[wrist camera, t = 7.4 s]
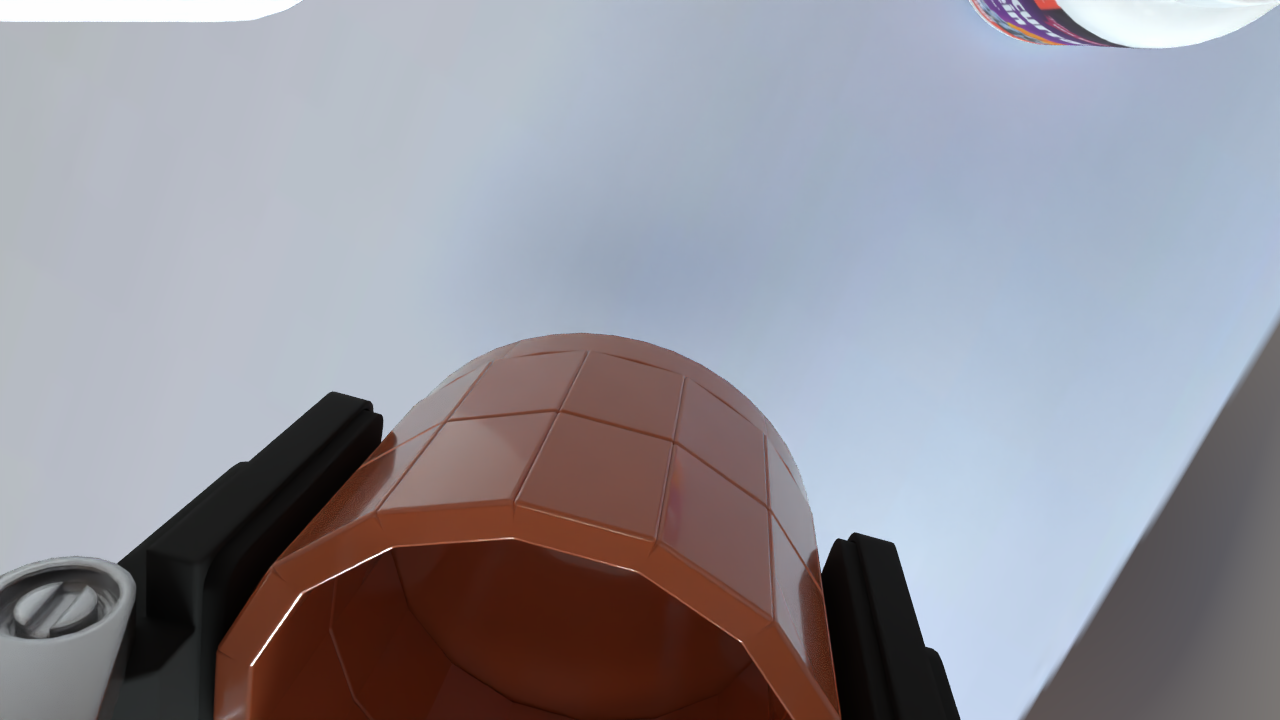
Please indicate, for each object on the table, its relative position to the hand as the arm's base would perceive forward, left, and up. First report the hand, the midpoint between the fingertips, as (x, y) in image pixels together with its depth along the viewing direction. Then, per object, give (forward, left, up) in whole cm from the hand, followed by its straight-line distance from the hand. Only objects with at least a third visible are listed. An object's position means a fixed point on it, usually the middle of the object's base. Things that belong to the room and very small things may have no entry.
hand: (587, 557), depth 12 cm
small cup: (0, 0, -1) cm, 1 cm away
